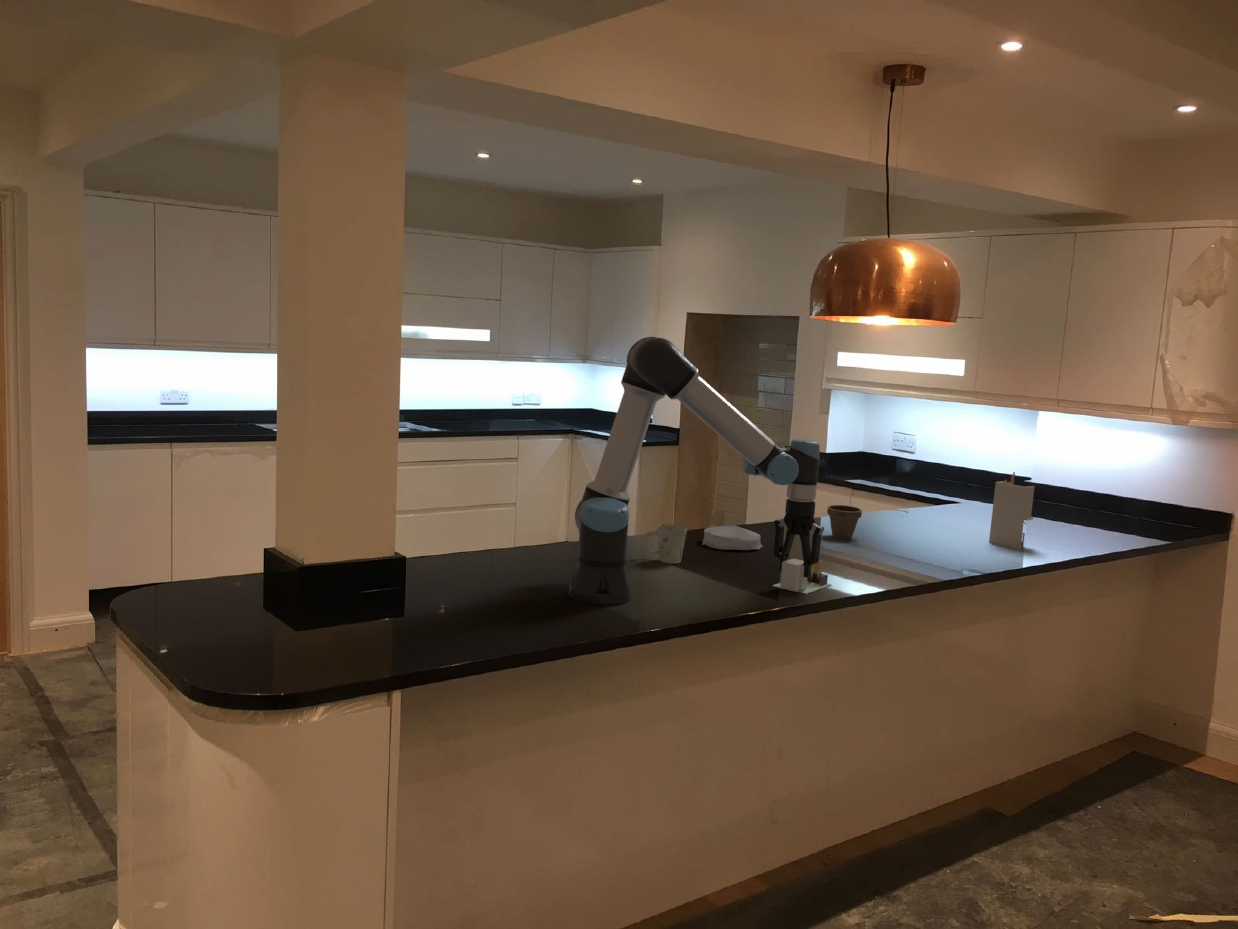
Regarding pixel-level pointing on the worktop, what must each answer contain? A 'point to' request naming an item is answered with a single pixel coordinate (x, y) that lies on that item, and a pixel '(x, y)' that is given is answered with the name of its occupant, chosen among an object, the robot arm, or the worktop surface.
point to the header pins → (814, 572)
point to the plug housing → (791, 574)
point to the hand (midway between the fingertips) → (793, 586)
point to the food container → (731, 538)
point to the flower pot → (843, 520)
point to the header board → (812, 584)
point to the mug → (668, 542)
